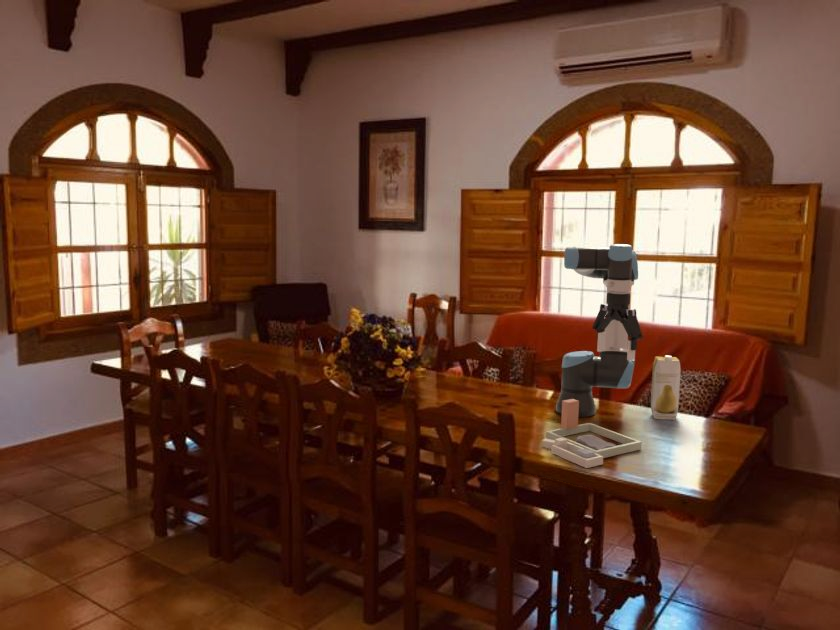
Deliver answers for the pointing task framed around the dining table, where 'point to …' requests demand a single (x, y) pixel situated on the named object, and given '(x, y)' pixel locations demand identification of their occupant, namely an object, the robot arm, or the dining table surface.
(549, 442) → the snapped post
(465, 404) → the dining table surface
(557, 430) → the shallow white tray
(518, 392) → the dining table surface
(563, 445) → the tray
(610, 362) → the robot arm
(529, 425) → the dining table surface
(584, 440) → the stone block
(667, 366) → the juice carton
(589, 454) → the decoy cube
